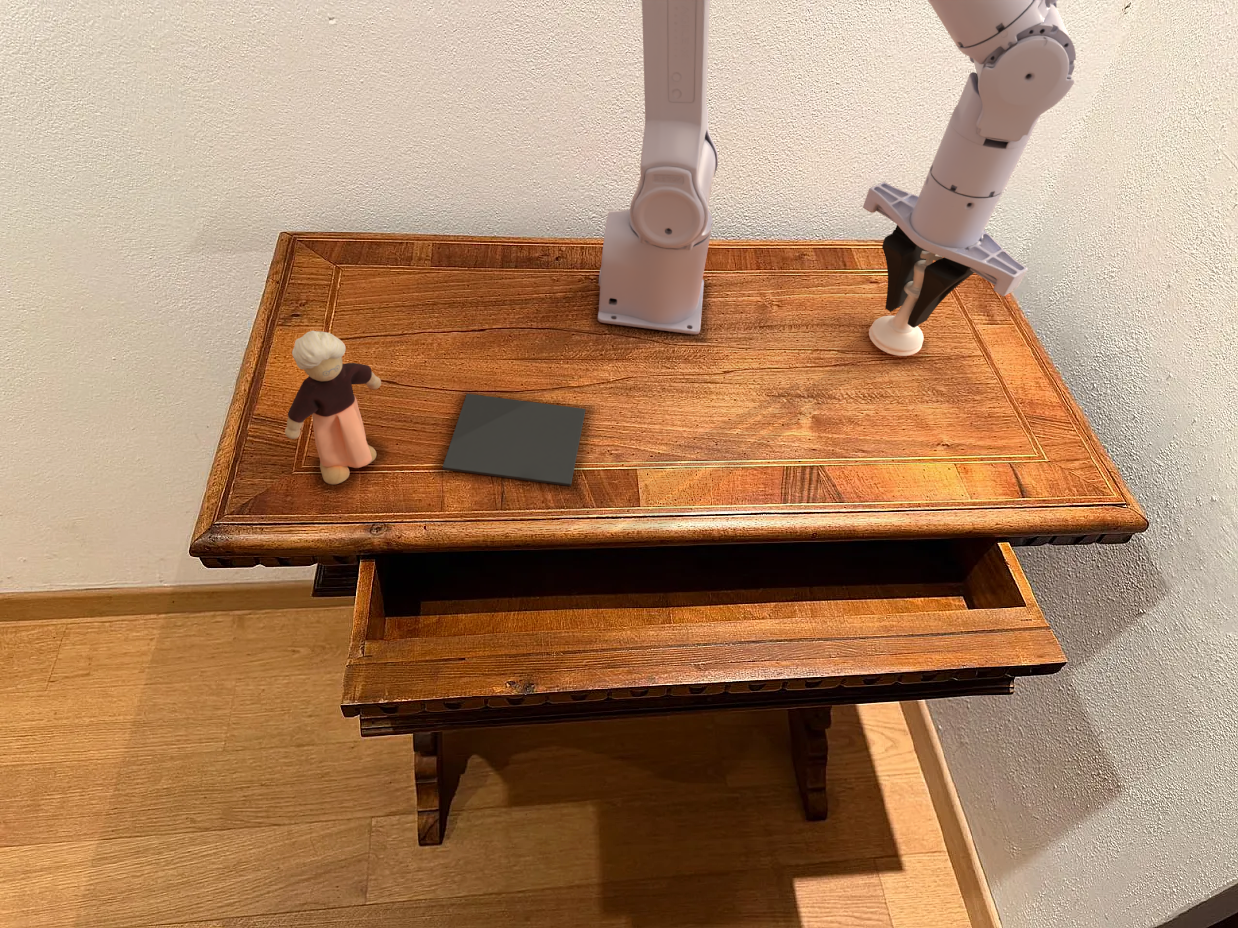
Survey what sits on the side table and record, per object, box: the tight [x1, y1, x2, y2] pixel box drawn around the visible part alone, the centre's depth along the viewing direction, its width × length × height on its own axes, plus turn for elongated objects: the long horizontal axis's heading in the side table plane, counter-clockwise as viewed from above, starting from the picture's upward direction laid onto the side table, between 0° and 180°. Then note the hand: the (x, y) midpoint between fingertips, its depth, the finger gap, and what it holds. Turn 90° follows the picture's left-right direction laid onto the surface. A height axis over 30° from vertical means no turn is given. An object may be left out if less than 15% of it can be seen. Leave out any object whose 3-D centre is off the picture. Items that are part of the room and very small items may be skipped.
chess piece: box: [868, 251, 944, 357], centre depth 70 cm, size 5×5×10 cm
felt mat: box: [442, 393, 586, 487], centre depth 64 cm, size 10×8×1 cm
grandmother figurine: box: [284, 330, 382, 485], centre depth 57 cm, size 8×4×13 cm, turn 148°
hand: (906, 314), depth 72 cm, fingers closed on chess piece
